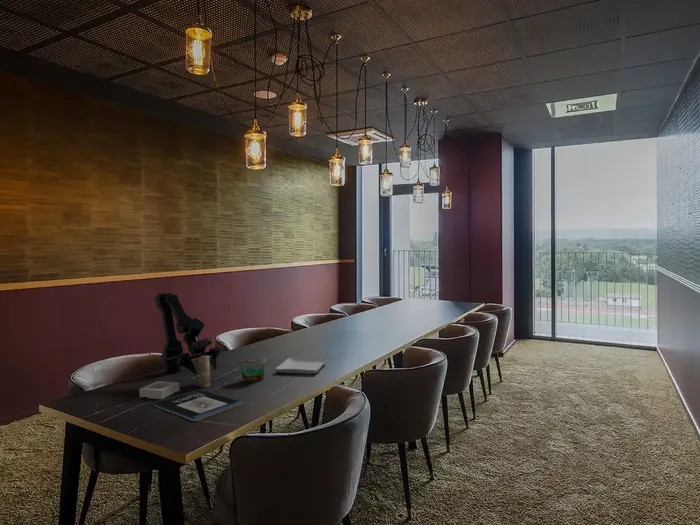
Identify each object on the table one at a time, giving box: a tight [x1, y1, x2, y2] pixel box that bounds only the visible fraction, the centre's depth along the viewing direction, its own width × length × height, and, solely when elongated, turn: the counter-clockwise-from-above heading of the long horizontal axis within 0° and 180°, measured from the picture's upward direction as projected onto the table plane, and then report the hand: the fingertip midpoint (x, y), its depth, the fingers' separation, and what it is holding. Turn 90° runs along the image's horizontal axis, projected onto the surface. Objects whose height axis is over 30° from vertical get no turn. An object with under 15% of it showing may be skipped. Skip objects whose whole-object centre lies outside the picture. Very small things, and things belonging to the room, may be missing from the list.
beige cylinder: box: [198, 355, 211, 388], centre depth 204 cm, size 4×4×13 cm
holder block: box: [138, 380, 180, 400], centre depth 194 cm, size 11×11×4 cm
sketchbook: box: [151, 388, 244, 422], centre depth 180 cm, size 22×30×2 cm
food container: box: [238, 357, 267, 384], centre depth 208 cm, size 12×6×10 cm, turn 105°
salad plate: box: [275, 356, 329, 375], centre depth 227 cm, size 21×21×3 cm
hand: (206, 371), depth 203 cm, fingers open, 9 cm apart
